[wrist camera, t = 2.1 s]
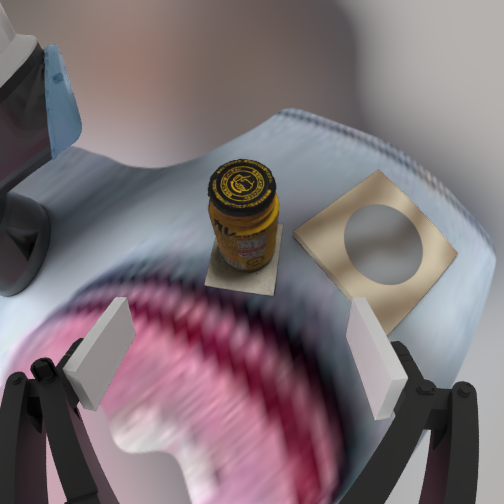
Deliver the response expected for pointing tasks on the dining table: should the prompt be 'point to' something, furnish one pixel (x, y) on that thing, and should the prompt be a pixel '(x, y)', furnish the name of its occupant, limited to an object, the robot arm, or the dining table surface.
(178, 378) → the dining table surface
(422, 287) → the board
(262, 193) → the condiment
